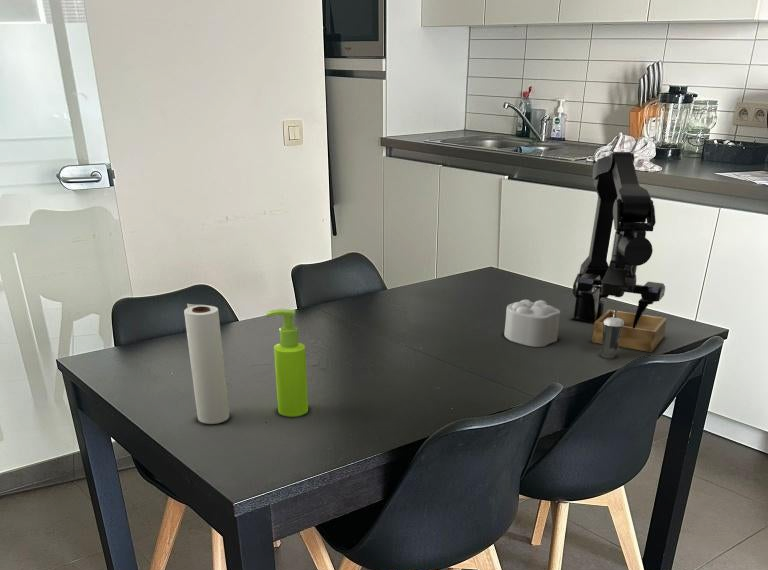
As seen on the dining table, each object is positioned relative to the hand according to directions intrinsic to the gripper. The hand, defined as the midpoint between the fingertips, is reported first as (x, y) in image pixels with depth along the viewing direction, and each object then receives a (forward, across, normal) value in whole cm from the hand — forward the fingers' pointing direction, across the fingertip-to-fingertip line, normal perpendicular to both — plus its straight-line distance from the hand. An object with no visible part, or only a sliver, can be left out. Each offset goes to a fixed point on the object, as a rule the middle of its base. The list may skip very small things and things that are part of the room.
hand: (613, 324), depth 177 cm
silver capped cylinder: (+8, 0, 0) cm, 8 cm away
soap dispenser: (+8, -46, -64) cm, 79 cm away
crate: (+8, +1, +14) cm, 16 cm away
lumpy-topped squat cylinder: (+8, -21, +3) cm, 23 cm away
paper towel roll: (+8, -57, -74) cm, 94 cm away
